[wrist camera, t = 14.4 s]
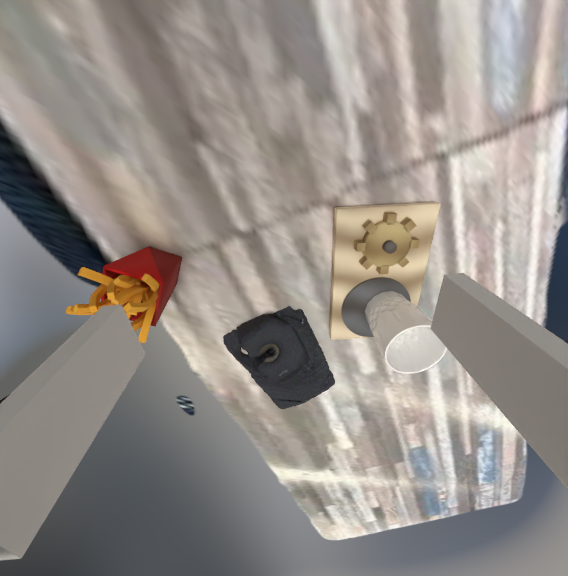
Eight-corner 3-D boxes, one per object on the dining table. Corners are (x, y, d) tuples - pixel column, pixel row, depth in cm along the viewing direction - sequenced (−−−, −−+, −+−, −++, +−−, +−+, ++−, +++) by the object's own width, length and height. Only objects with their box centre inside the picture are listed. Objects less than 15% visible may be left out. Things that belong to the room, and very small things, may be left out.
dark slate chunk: (271, 405, 54) (271, 426, 50) (218, 330, 45) (212, 348, 41) (339, 382, 52) (345, 402, 48) (297, 297, 42) (300, 313, 38)
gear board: (334, 207, 35) (341, 213, 32) (434, 201, 36) (452, 206, 32) (329, 334, 45) (333, 349, 42) (406, 329, 46) (418, 344, 42)
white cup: (369, 284, 39) (398, 321, 30) (417, 290, 40) (459, 329, 31) (354, 326, 42) (376, 370, 33) (399, 331, 43) (431, 376, 34)
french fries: (181, 291, 41) (136, 357, 27) (127, 275, 39) (51, 337, 26) (192, 240, 37) (147, 288, 24) (132, 221, 35) (47, 260, 22)
